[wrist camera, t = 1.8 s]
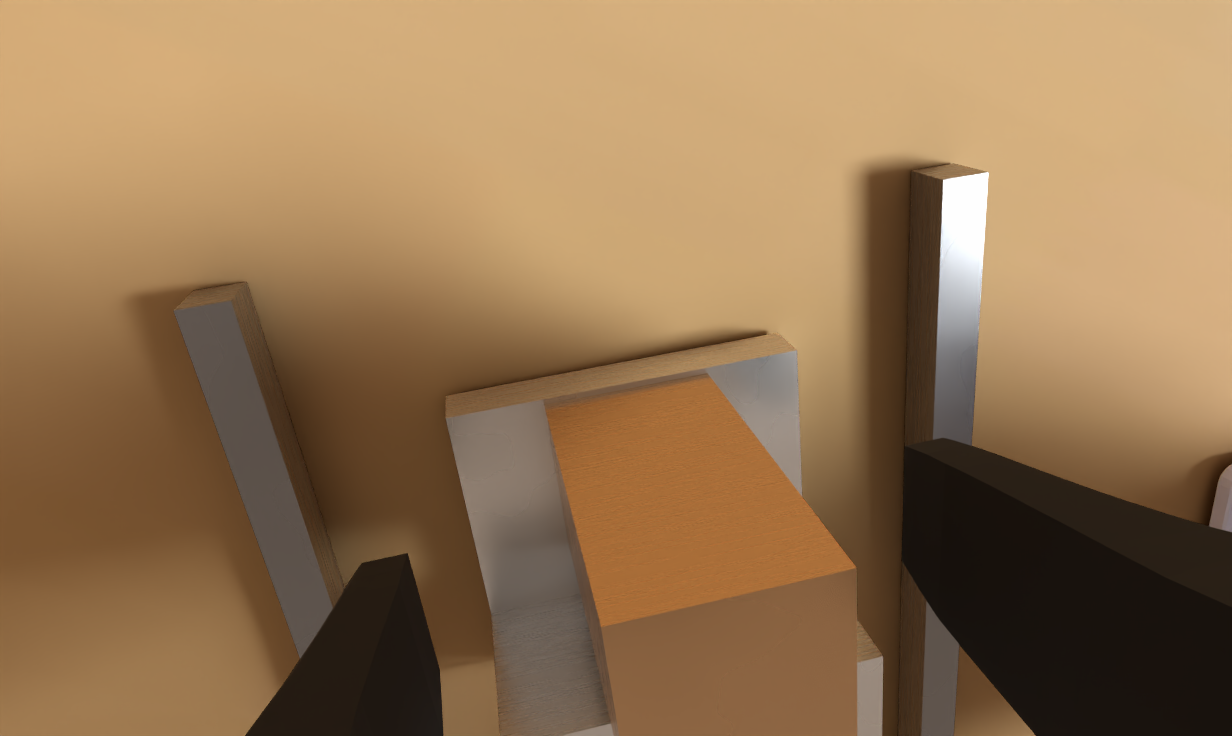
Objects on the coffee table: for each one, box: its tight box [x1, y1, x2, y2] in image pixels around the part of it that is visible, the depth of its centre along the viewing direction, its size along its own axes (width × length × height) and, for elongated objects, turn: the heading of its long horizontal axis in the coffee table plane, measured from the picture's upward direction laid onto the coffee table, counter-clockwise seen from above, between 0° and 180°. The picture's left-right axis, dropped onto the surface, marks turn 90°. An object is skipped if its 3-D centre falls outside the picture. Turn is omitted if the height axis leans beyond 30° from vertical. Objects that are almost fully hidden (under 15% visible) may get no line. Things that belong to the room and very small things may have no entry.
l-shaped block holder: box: [446, 333, 883, 736], centre depth 13 cm, size 6×6×6 cm
